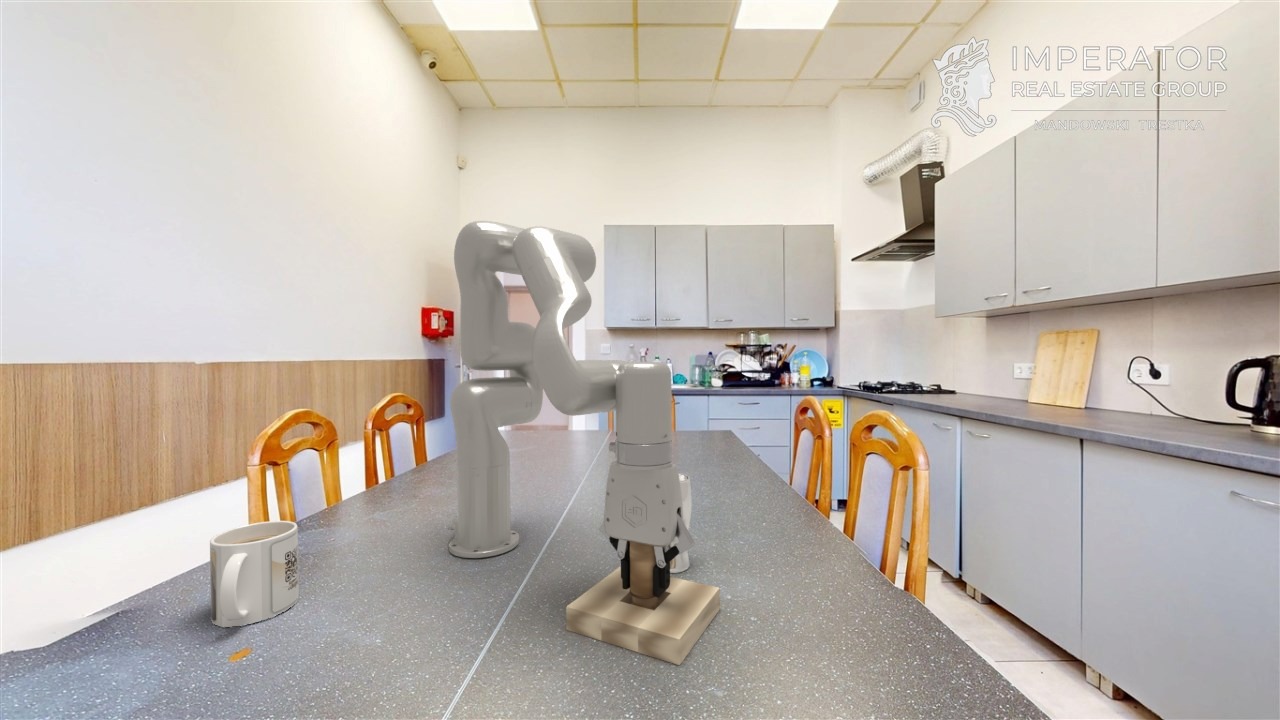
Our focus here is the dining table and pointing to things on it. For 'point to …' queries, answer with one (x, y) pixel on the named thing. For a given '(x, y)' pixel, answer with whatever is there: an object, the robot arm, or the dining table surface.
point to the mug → (253, 572)
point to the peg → (642, 575)
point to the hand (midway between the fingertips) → (645, 587)
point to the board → (645, 617)
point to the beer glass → (682, 560)
